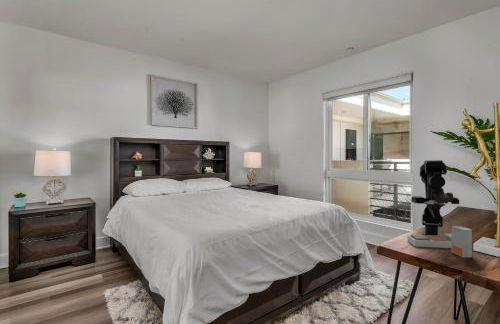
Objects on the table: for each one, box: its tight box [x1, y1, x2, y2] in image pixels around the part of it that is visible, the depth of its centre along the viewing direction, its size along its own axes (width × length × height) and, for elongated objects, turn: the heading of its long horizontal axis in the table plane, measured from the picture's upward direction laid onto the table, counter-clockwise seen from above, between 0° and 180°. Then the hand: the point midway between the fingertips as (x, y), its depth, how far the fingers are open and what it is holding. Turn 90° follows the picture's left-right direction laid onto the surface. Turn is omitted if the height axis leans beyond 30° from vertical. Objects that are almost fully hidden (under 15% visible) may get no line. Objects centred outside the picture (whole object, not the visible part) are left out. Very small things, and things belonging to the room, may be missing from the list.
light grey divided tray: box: [407, 234, 451, 249], centre depth 125 cm, size 8×23×3 cm, turn 79°
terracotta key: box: [427, 235, 448, 241], centre depth 125 cm, size 6×6×2 cm
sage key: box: [443, 233, 451, 241], centre depth 123 cm, size 6×6×2 cm
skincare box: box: [450, 225, 473, 259], centre depth 112 cm, size 6×4×12 cm
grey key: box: [410, 234, 430, 240], centre depth 126 cm, size 6×6×2 cm
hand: (434, 217), depth 126 cm, fingers closed
